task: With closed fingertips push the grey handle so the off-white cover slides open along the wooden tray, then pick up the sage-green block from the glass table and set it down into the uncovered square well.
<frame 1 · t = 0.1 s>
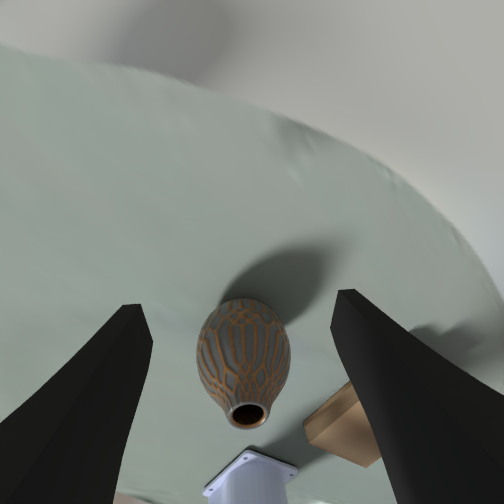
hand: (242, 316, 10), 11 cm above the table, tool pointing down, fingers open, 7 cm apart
vase: (241, 317, 23), on the table
wooden tray: (374, 399, 28), on the table
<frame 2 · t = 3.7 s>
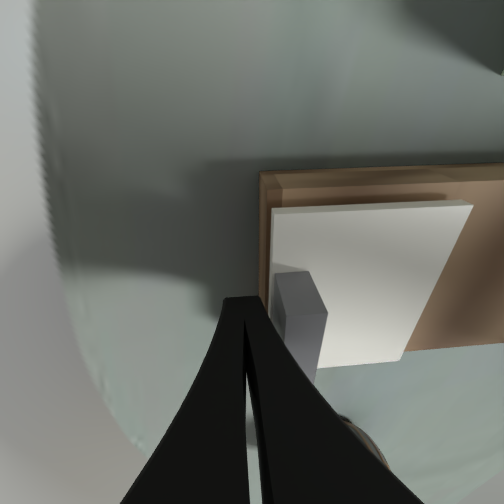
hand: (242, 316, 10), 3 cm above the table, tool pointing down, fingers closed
vase: (329, 428, 23), on the table
wooden tray: (397, 257, 13), on the table
cover: (359, 319, 9), point 4 cm above the table, slide at 0.1 cm, touching gripper
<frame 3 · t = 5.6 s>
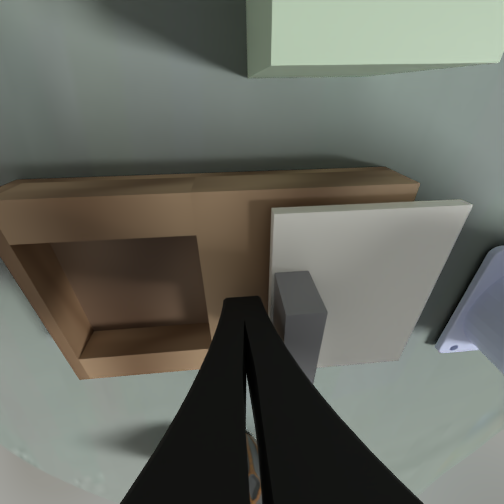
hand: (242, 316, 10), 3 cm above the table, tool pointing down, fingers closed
vase: (230, 439, 22), on the table
wooden tray: (219, 268, 12), on the table
cover: (359, 318, 9), point 4 cm above the table, slide at 9.0 cm, touching gripper
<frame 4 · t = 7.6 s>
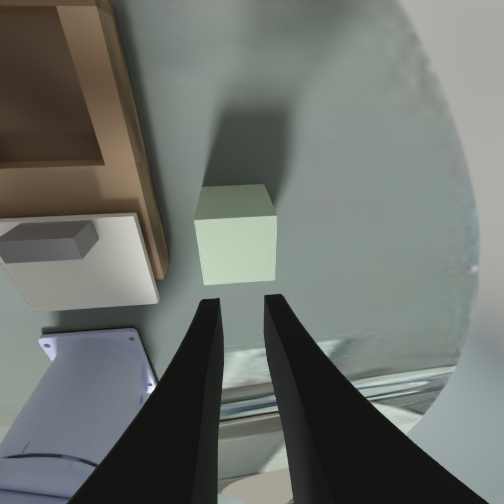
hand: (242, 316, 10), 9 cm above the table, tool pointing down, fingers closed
wooden tray: (69, 166, 15), on the table
block: (234, 213, 18), on the table
cover: (72, 276, 15), point 4 cm above the table, slide at 9.0 cm
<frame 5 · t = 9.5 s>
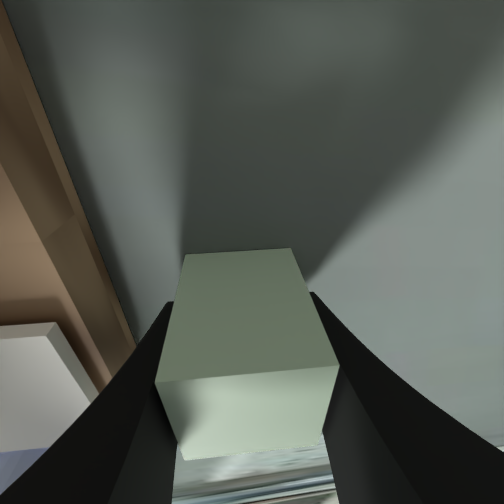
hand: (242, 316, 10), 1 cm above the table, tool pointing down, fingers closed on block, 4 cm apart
block: (240, 291, 11), on the table, touching gripper
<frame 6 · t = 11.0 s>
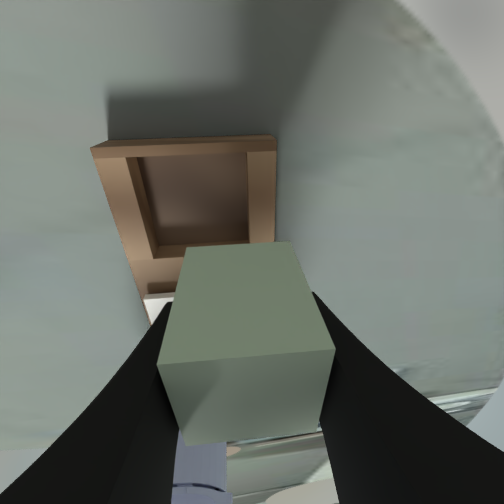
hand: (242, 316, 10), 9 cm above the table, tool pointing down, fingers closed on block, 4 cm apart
wooden tray: (205, 244, 18), on the table
block: (241, 284, 11), point 7 cm above the table, touching gripper
cover: (211, 337, 18), point 4 cm above the table, slide at 9.0 cm
when the fingers open (3 cm above the table, at t = 12.7 s): block stays where it is, resting on wooden tray.
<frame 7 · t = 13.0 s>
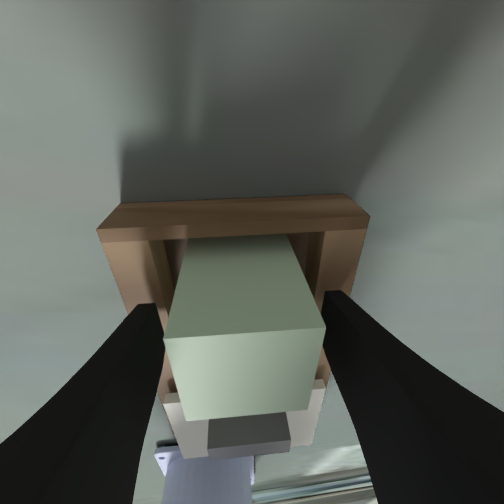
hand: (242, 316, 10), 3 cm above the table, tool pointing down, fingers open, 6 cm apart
wooden tray: (241, 320, 14), on the table
block: (239, 274, 12), point 1 cm above the table, touching wooden tray
cover: (248, 442, 14), point 4 cm above the table, slide at 9.0 cm
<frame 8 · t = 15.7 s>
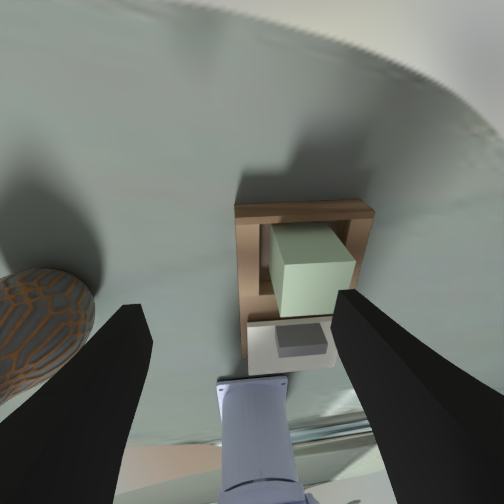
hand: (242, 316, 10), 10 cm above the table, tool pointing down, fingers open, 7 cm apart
vase: (62, 288, 20), on the table
wooden tray: (291, 280, 22), on the table
block: (296, 247, 19), point 1 cm above the table, touching wooden tray
cover: (296, 357, 21), point 4 cm above the table, slide at 9.0 cm
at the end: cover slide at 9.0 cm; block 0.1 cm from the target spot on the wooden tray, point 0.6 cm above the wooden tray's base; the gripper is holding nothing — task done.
